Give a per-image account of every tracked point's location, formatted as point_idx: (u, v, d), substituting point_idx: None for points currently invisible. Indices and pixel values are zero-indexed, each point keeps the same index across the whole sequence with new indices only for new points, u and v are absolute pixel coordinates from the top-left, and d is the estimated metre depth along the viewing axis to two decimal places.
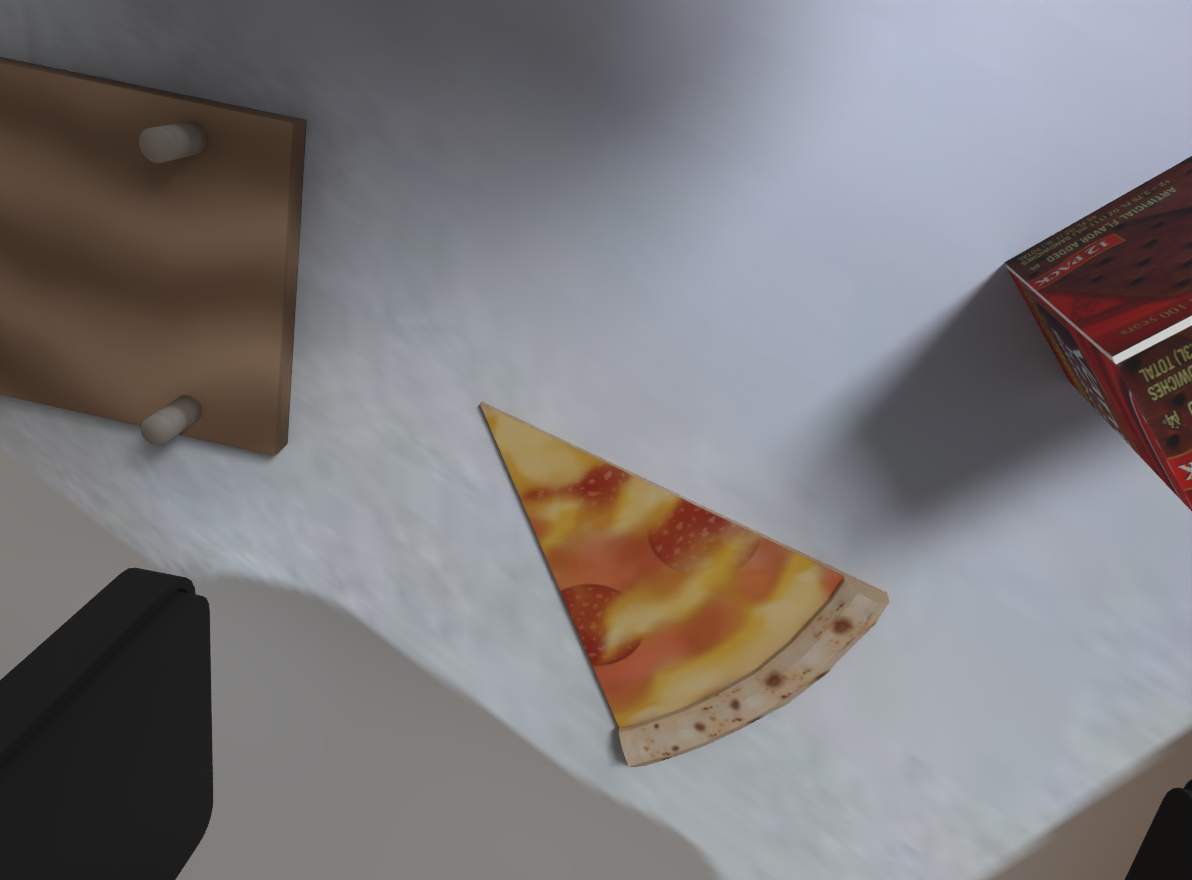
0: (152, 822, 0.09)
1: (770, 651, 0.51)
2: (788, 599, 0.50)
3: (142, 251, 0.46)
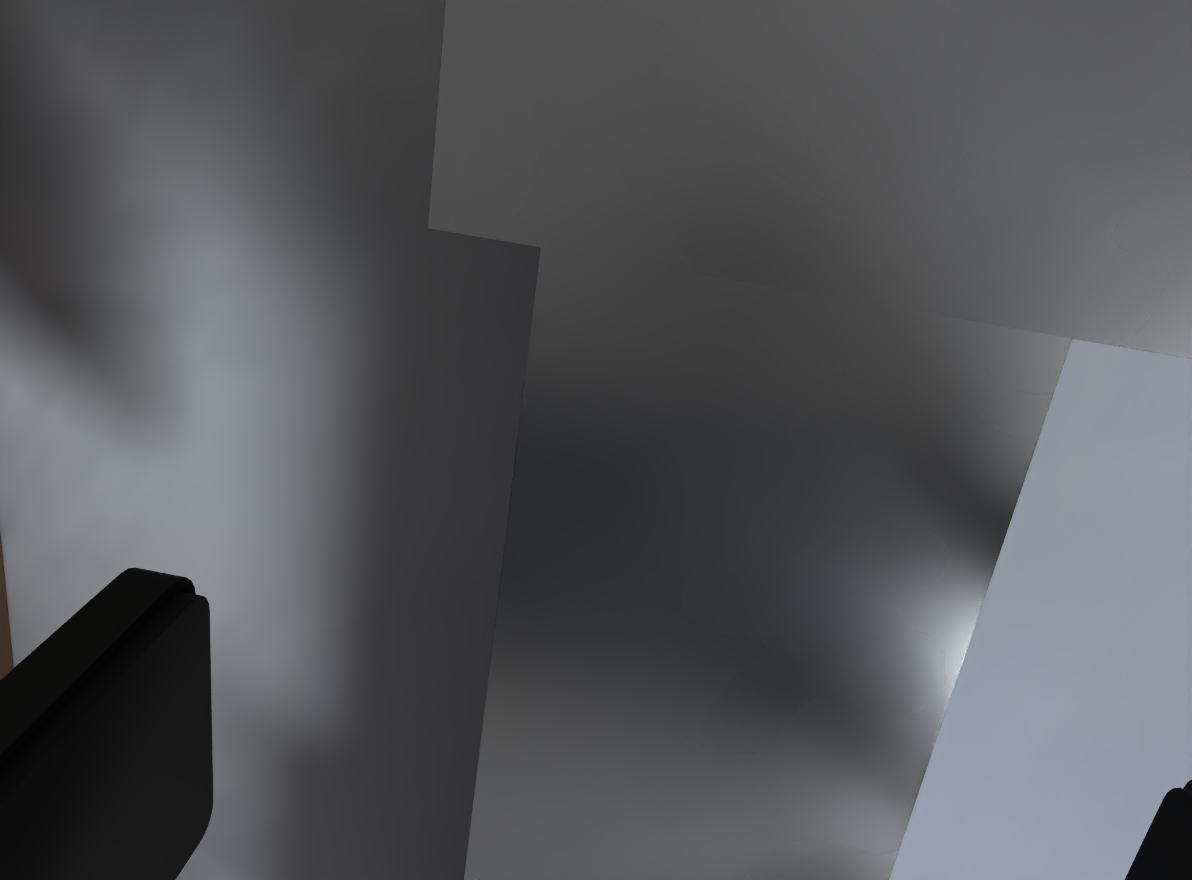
0: (152, 822, 0.09)
1: None
2: None
3: None
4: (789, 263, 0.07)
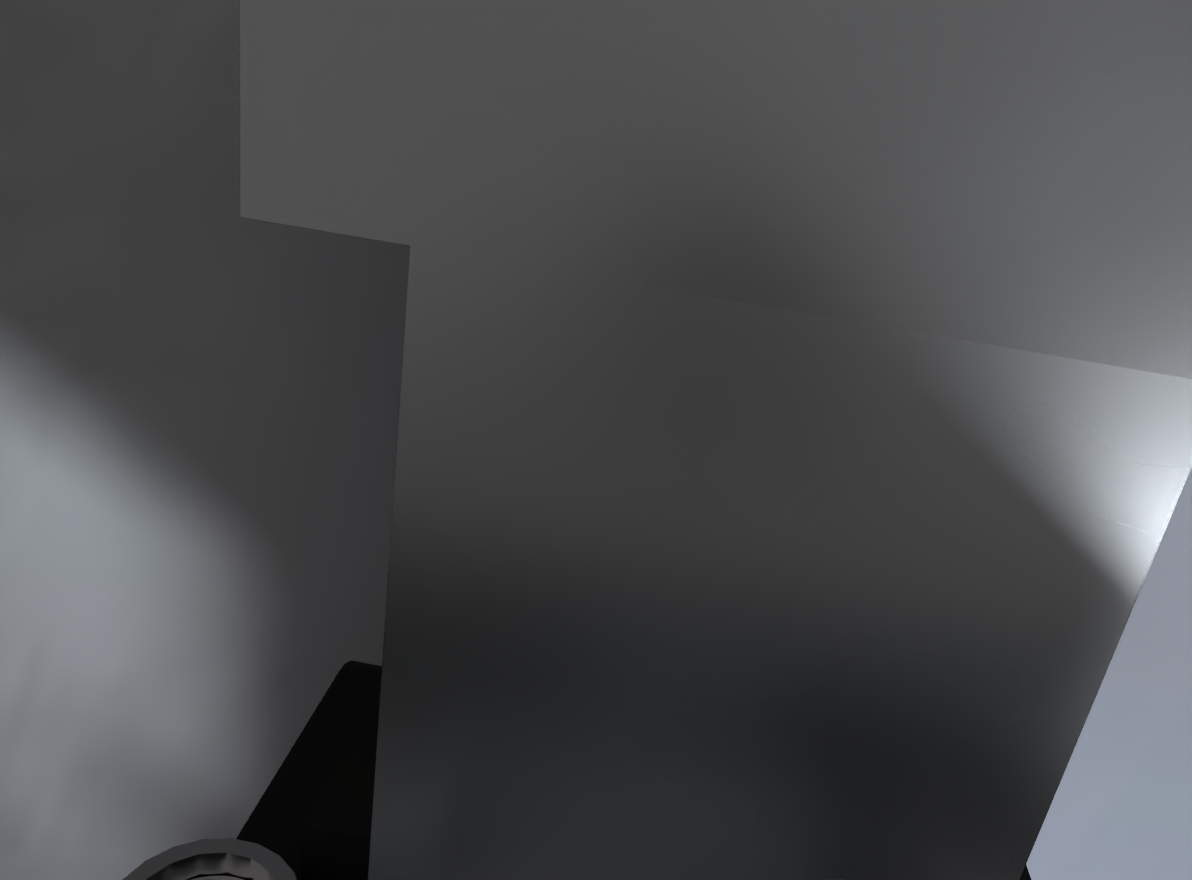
0: None
1: None
2: None
3: None
4: (788, 270, 0.04)
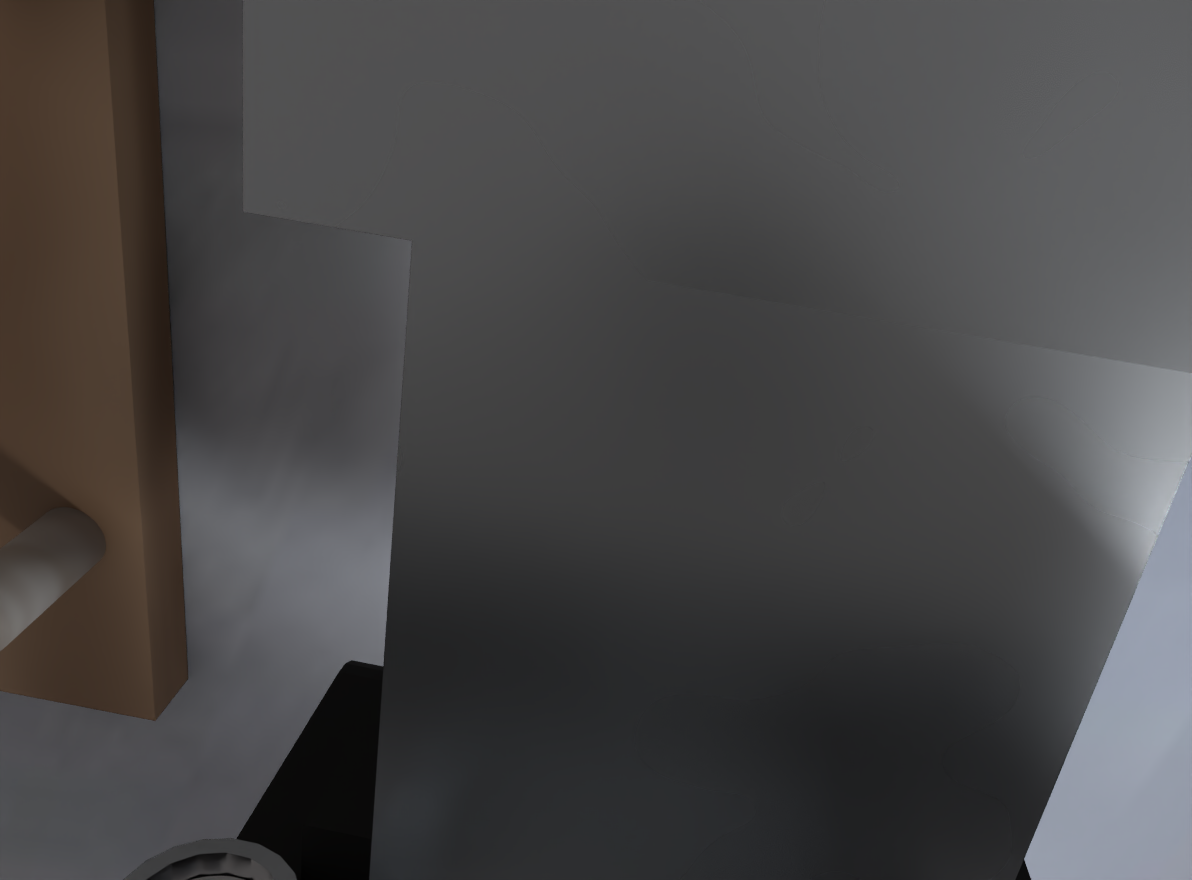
0: None
1: None
2: None
3: None
4: (788, 264, 0.04)
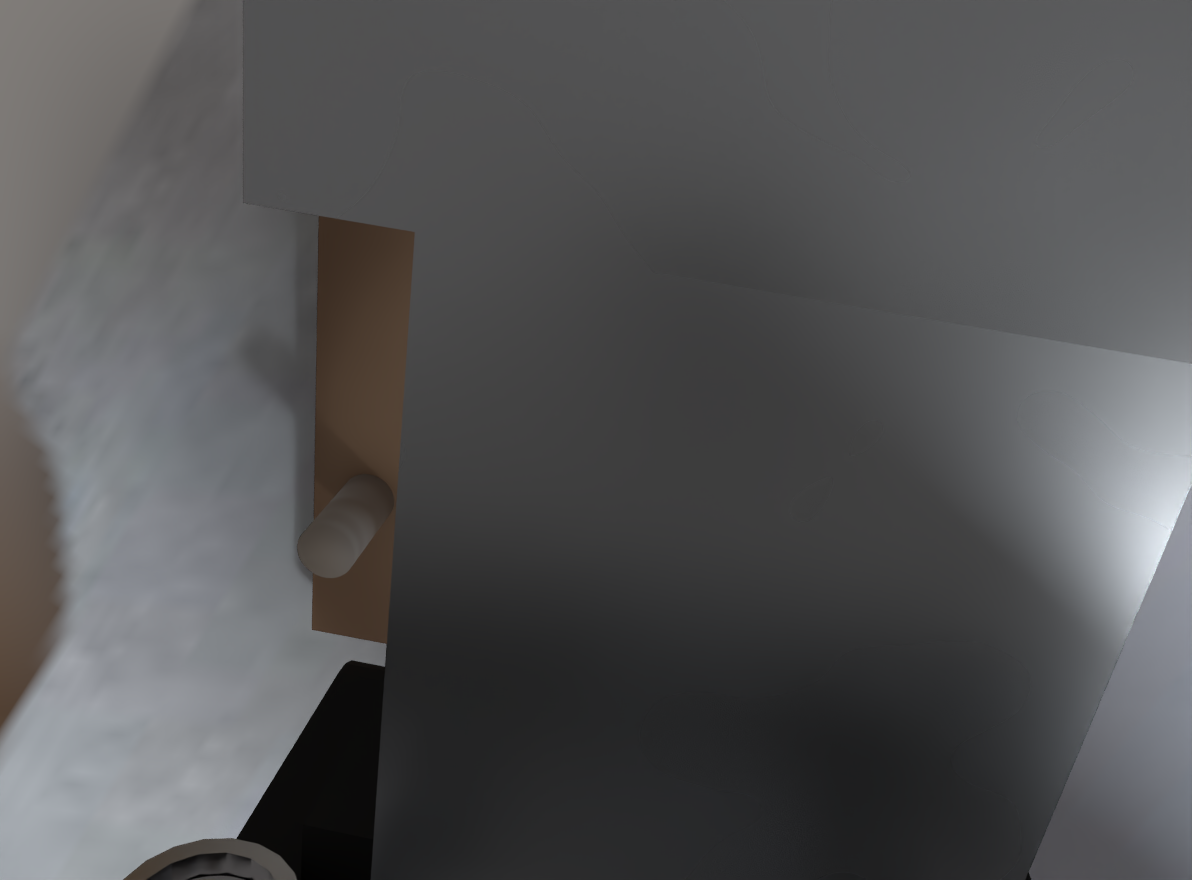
0: None
1: None
2: None
3: None
4: (797, 255, 0.04)
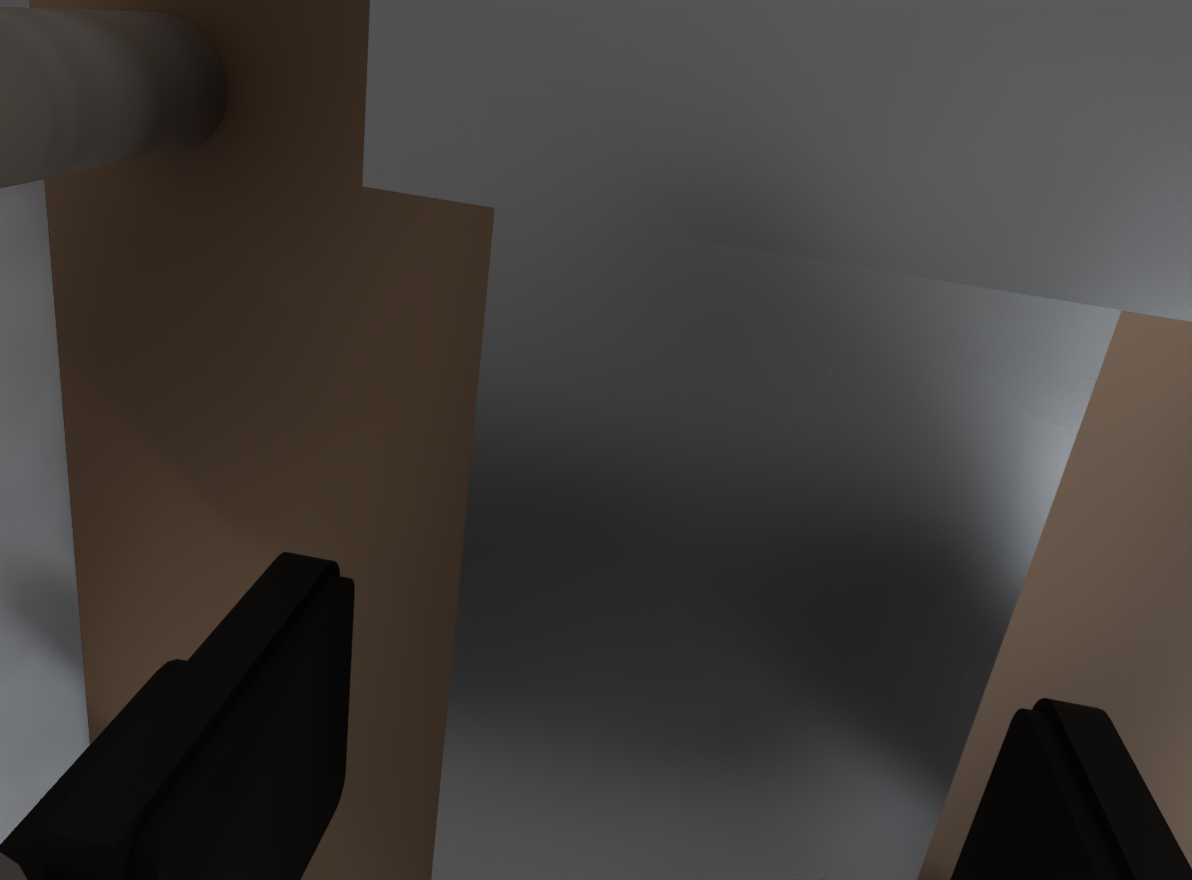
0: (307, 790, 0.10)
1: None
2: None
3: None
4: (787, 224, 0.06)
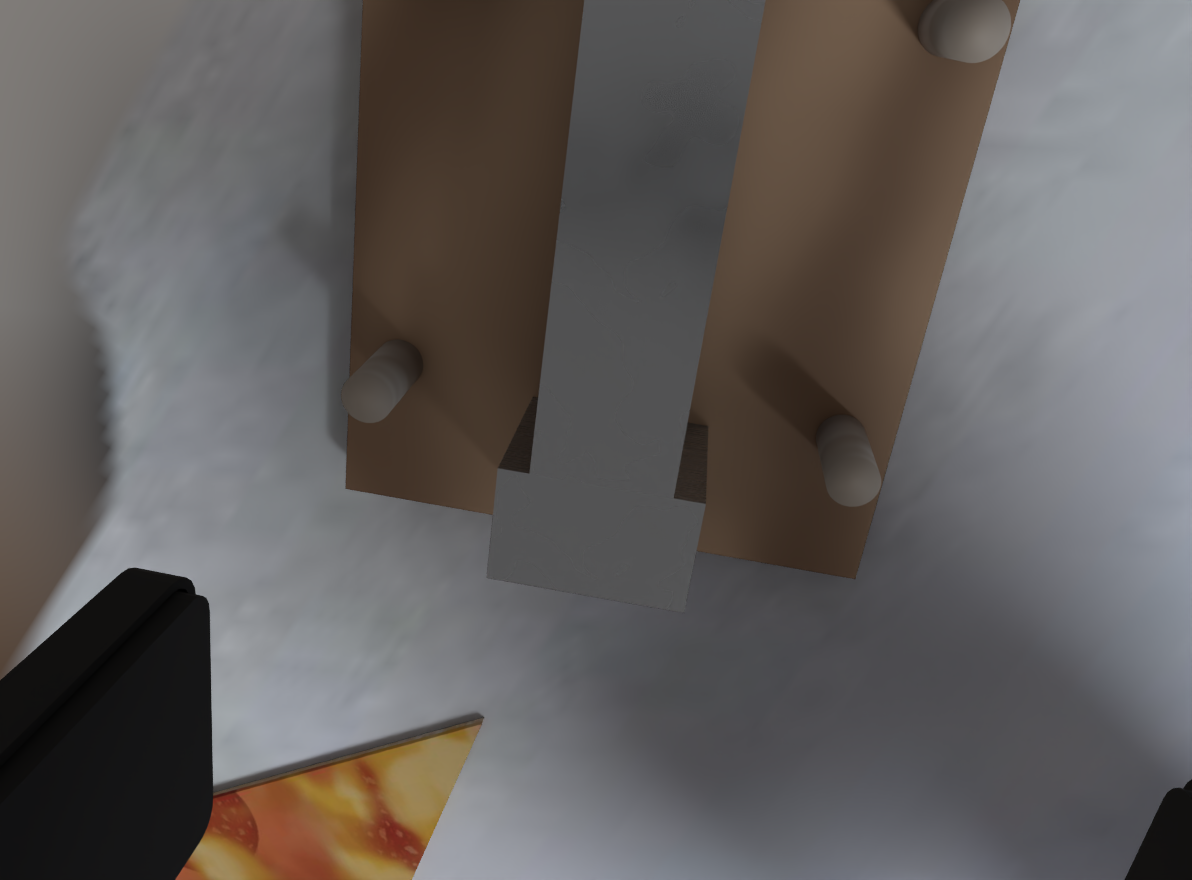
0: (152, 822, 0.09)
1: None
2: None
3: None
4: None
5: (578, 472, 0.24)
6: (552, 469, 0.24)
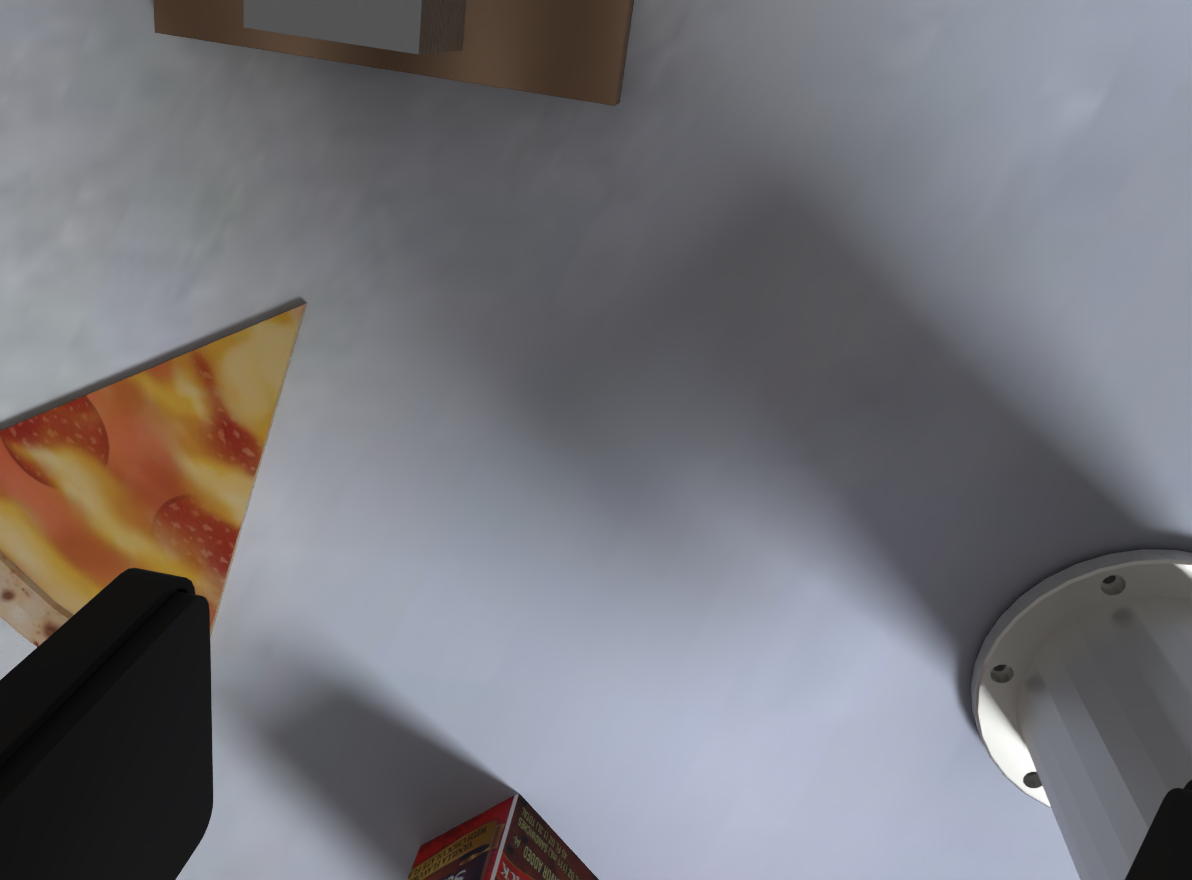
0: (152, 822, 0.09)
1: None
2: None
3: None
4: None
5: None
6: None
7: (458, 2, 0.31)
